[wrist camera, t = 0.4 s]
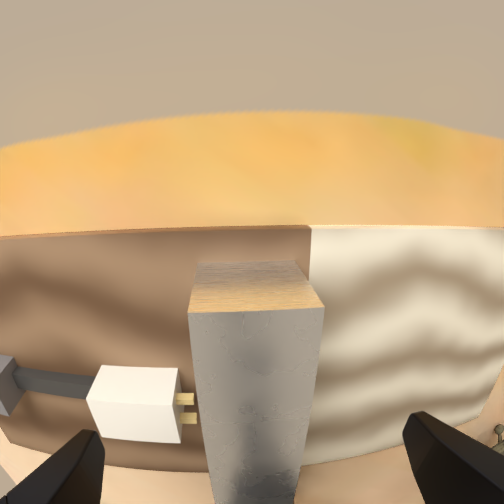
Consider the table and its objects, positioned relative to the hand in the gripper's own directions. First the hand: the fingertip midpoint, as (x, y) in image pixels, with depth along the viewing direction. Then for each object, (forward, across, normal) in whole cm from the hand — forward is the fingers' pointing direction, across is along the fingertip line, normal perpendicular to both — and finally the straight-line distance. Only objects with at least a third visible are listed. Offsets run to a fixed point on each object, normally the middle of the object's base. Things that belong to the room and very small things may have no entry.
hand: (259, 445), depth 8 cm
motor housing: (+14, -1, +9) cm, 17 cm away
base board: (+14, -1, +9) cm, 17 cm away
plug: (+13, +13, +10) cm, 21 cm away
